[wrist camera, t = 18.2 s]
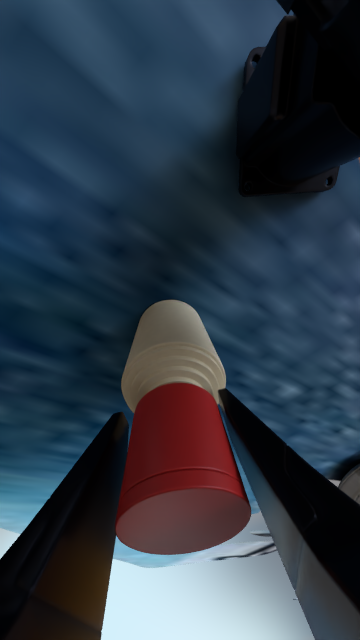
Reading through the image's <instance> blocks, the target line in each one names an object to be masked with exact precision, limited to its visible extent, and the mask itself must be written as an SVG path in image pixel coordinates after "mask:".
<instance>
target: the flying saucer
mask: <svg viewBox="0 0 360 640" xmlns="http://www.w3.org/2000/svg"><path fill="white" fill-rule="evenodd" d="M338 488H339V489H340V490H342V491H343V492H344V493H346V494H347V495H348V496H349V497H351V498H352V499H353V500H355V501H356V502H357V503H358V504H360V463H359V464H358V465H356V466H355V467H354V468H352V469H351V470H350V471H349V472H348V473H347V474H346V475H345V476H344V477H343V479H342V480H341V482H340V484H339V486H338Z"/></svg>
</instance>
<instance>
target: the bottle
mask: <svg viewBox="0 0 360 640" xmlns="http://www.w3.org/2000/svg"><path fill="white" fill-rule="evenodd" d="M171 383H189V384H193V385H197V386H199V387H202V388H203V389H205V390H206V391H208V392H209V393H210V394H211V395H212V396H213V397H214V399H215V400H216V403H217V405H218V403H219V397H218V390H219V389H223V388H225V383H226V375H225V371H224V368H223V366H222V363H221V361H220V359H219V357H218V355H217V353H216V351H215V349H214V346H213V344H212V342H211V340H210V338H209V336H208V334H207V332H206V330H205V327H204V325H203V323H202V321H201V319H200V317H199V315H198V313H197V312H196V311H195V310H194V309H193V308H192V307H191V306H190V305H188V304H186V303H184V302H181V301H178V300H164V301H160V302H157V303H155V304H153V305H152V306H150V307H149V308H148V309H147V310H146V311H145V312H144V313H143V315H142V317H141V319H140V321H139V325H138V328H137V331H136V334H135V337H134V341H133V344H132V347H131V350H130V353H129V357H128V360H127V363H126V366H125V369H124V373H123V376H122V381H121V388H122V393H123V396H124V399H125V401H126V403H127V405H128V407H129V408H130V409H131V411H132V412H133V413H134V412H135V409H136V406H137V404H138V403H139V401H140V400H141V399H142V397H143V396H144V395H146V394H147V393H148V392H150V391H151V390H153V389H155V388H157V387H159V386H162V385H166V384H171Z"/></svg>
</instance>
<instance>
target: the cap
mask: <svg viewBox="0 0 360 640" xmlns="http://www.w3.org/2000/svg"><path fill="white" fill-rule="evenodd" d="M250 517H251V507H250V504H249V500H248V497H247V494H246V492H245V488H244V485H243V482H242V479H241V476H240V473H239V470H238V467H237V464H236V461H235V458H234V455H233V451H232V448H231V445H230V442H229V439H228V436H227V433H226V430H225V427H224V424H223V421H222V418H221V415H220V412H219V409H218V406H217V403H216V400H215V399H214V397H213V396H212V395H211V394H210V393H209V392H208V391H206V390H205V389H203V388H202V387H199V386H197V385H193V384H189V383H171V384H166V385H162V386H159V387H157V388H155V389H153V390H151V391H150V392H148V393H147V394H146V395H144V396H143V397H142V399H141V400H140V401H139V403H138V404H137V406H136V409H135V412H134V418H133V424H132V430H131V435H130V441H129V447H128V452H127V458H126V464H125V470H124V475H123V481H122V487H121V492H120V498H119V504H118V510H117V515H116V521H115V532H116V535H117V537H118V539H119V540H120V541H121V542H122V543H123V544H125V545H126V546H128V547H130V548H132V549H135V550H137V551H141V552H145V553H150V554H160V555H174V554H185V553H191V552H197V551H201V550H205V549H208V548H211V547H214V546H217V545H219V544H221V543H223V542H225V541H227V540H229V539H231V538H232V537H234V536H235V535H237V534H238V533H239V532H240V531H242V530H243V529H244V527H245V526H246V525H247V523H248V522H249V520H250Z"/></svg>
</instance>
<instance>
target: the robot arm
mask: <svg viewBox="0 0 360 640" xmlns="http://www.w3.org/2000/svg"><path fill="white" fill-rule="evenodd" d="M277 2H278V3H279V4H280V5H281V7H282V8H283V9H284V11H285V12H286V13H287V14H288V13H289V12H290V10H292V11H293V12H294V14H293V15H292V16H284V17H283V19H282V20H281V22H280V23H279V24H278V26H277V27H276V29H275V31H274V33H273V35H272V37H271V39H270V41H269V43H268V44H267V46H266V47H257V48H254V49H253V50H252V51H251V52H250V54H249V56H248V58H247V60H246V62H245V67H244V83H243V92H242V94H241V96H240V98H239V101H238V121H237V146H236V155H237V157H238V159H240V169H239V193H240V195H241V196H243V197H253V196H267V195H282V194H296V193H310V192H323V191H326V190H329V189H331V188H332V187H333V186H334V185H335V183H336V180H337V176H338V171H339V167H340V165H343V164H345V163H347V162H350V161H352V160H354V159H356V158H359V157H360V0H277ZM253 61H254V62H256V63H257V66H256V67H255V68H253V66H252V62H253ZM326 179H327V180H328V184H327V185H326V182H325V181H326ZM245 184H248V185H249V187H250V189H249V191H246V190H245ZM218 397H219V402H220V406H221V410H222V413H223V416H224V420H225V423H226V426H227V430H228V433H229V436H230V439H231V442H232V444H233V447H234V449H235V451H236V454H237V456H238V458H239V461H240V463H241V465H242V468H243V470H244V472H245V475H246V477H247V480H248V482H249V484H250V487H251V489H252V491H253V494H254V496H255V498H256V501H257V503H258V506H259V508H260V510H261V513H262V515H263V517H264V520H265V522H266V524H267V527H268V529H269V532H270V534H271V536H272V539H273V541H274V543H275V546H276V548H277V550H278V553H279V555H280V557H281V560H282V562H283V565H284V567H285V569H286V572H287V574H288V576H289V579H290V581H291V584H292V586H293V588H294V590H295V593H296V596H297V598H298V600H299V603H300V605H301V607H302V610H303V612H304V614H305V617H306V619H307V622H308V624H309V626H310V629H311V631H312V633H313V636H314V638H315V640H360V504H358V503H357V502H356V501H355V500H353V499H352V498H351V497H349V496H348V495H347V494H346V493H344V492H343V491H342V490H340V489H339V488H338V487H337V486H335V485H334V484H333V483H331V482H330V481H329V480H328V479H326V478H325V477H324V476H323V475H322V474H320V473H319V472H318V471H317V470H315V469H314V468H313V467H312V466H311V465H309V464H308V463H307V462H306V461H305V460H304V459H303V458H301V457H300V456H299V455H298V454H297V453H296V452H295V451H294V450H293V449H292V448H290V447H289V446H287V444H286V443H285V442H284V441H283V440H282V439H281V438H279V437H278V436H277V435H276V434H275V433H274V432H273V431H272V430H271V429H270V428H269V427H268V426H266V425H265V424H264V423H263V422H262V421H261V420H260V419H259V418H258V417H257V416H256V415H254V414H253V413H252V412H251V411H250V410H249V409H248V408H247V407H246V406H245V405H244V404H243V403H241V402H240V401H239V400H238V399H237V398H236V397H235V396H234V395H233V394H232V393H231V392H229V391H228V390H227V389H226V388H223V389H219V390H218ZM128 432H129V425H128V422H127V420H126V418H125V416H124V414H123V412H118V413H114V414H113V415H112V416H111V417H110V419H109V420H108V421H107V423H106V424H105V425H104V427H103V428H102V429H101V431H100V432H99V433H98V435H97V436H96V437H95V439H94V440H93V441H92V442H91V444H90V445H89V446H88V448H87V449H86V450H85V452H84V453H83V454H82V456H81V457H80V458H79V460H78V461H77V462H76V463H75V465H74V466H73V467H72V469H71V470H70V471H69V473H68V474H67V475H66V477H65V478H64V479H63V481H62V482H61V483H60V485H59V486H58V487H57V488H56V490H55V491H54V492H53V494H52V495H51V497H50V499H48V500H47V502H46V503H45V504H44V505H43V507H42V508H41V509H40V511H39V512H38V513H37V515H36V516H35V517H34V518H33V520H32V521H31V522H30V524H29V525H28V526H27V527H26V529H25V530H24V531H23V532H22V534H21V535H20V536H19V537H18V538H17V540H16V541H15V542H14V543H13V544H12V546H11V547H10V548H9V549H8V551H7V552H6V553H5V554H4V555H3V557H2V558H1V559H0V640H101V630H102V626H103V619H104V612H105V606H106V599H107V592H108V585H109V579H110V572H111V565H112V559H113V552H114V546H115V539H116V532H115V521H116V515H117V510H118V504H119V498H120V492H121V487H122V481H123V475H124V470H125V464H126V458H127V450H128Z"/></svg>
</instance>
